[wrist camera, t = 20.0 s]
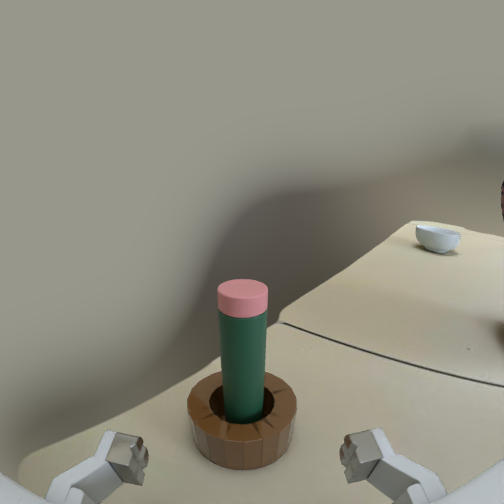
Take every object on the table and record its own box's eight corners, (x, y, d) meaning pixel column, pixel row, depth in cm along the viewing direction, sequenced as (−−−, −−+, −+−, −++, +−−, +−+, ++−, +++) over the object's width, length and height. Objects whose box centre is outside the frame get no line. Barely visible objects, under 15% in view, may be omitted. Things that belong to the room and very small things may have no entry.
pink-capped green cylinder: (236, 448, 17) (230, 301, 14) (220, 424, 19) (209, 283, 16) (268, 435, 18) (277, 291, 15) (250, 414, 20) (252, 275, 17)
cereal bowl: (466, 257, 68) (469, 236, 66) (426, 255, 70) (430, 232, 69) (443, 245, 84) (445, 226, 83) (406, 243, 87) (408, 223, 85)
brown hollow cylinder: (219, 484, 14) (214, 457, 13) (181, 415, 20) (173, 383, 19) (310, 443, 17) (319, 412, 16) (259, 390, 24) (260, 358, 23)
